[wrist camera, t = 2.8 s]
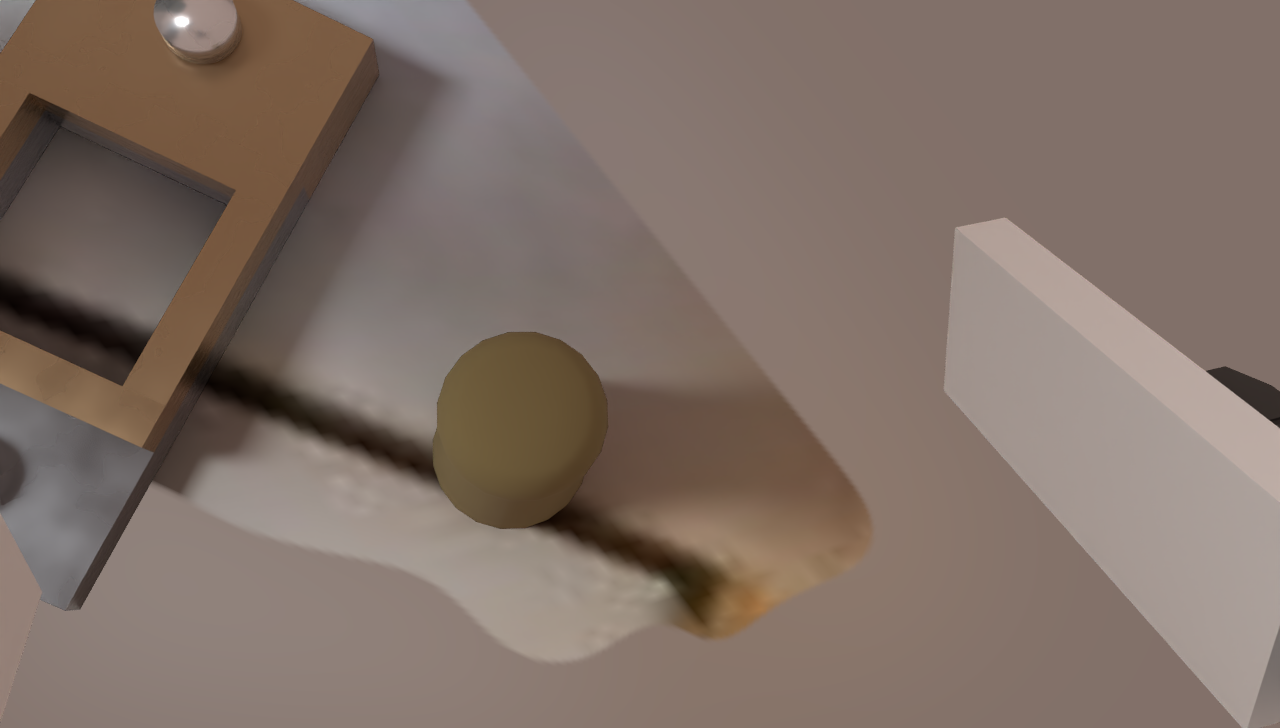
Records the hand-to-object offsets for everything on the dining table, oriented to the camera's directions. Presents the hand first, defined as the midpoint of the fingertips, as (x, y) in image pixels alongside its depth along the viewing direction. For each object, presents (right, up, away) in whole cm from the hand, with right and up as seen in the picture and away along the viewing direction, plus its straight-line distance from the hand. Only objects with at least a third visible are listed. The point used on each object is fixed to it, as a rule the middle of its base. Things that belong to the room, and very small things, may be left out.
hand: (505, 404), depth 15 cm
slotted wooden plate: (-19, +4, +27) cm, 33 cm away
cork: (-3, -3, +28) cm, 28 cm away
